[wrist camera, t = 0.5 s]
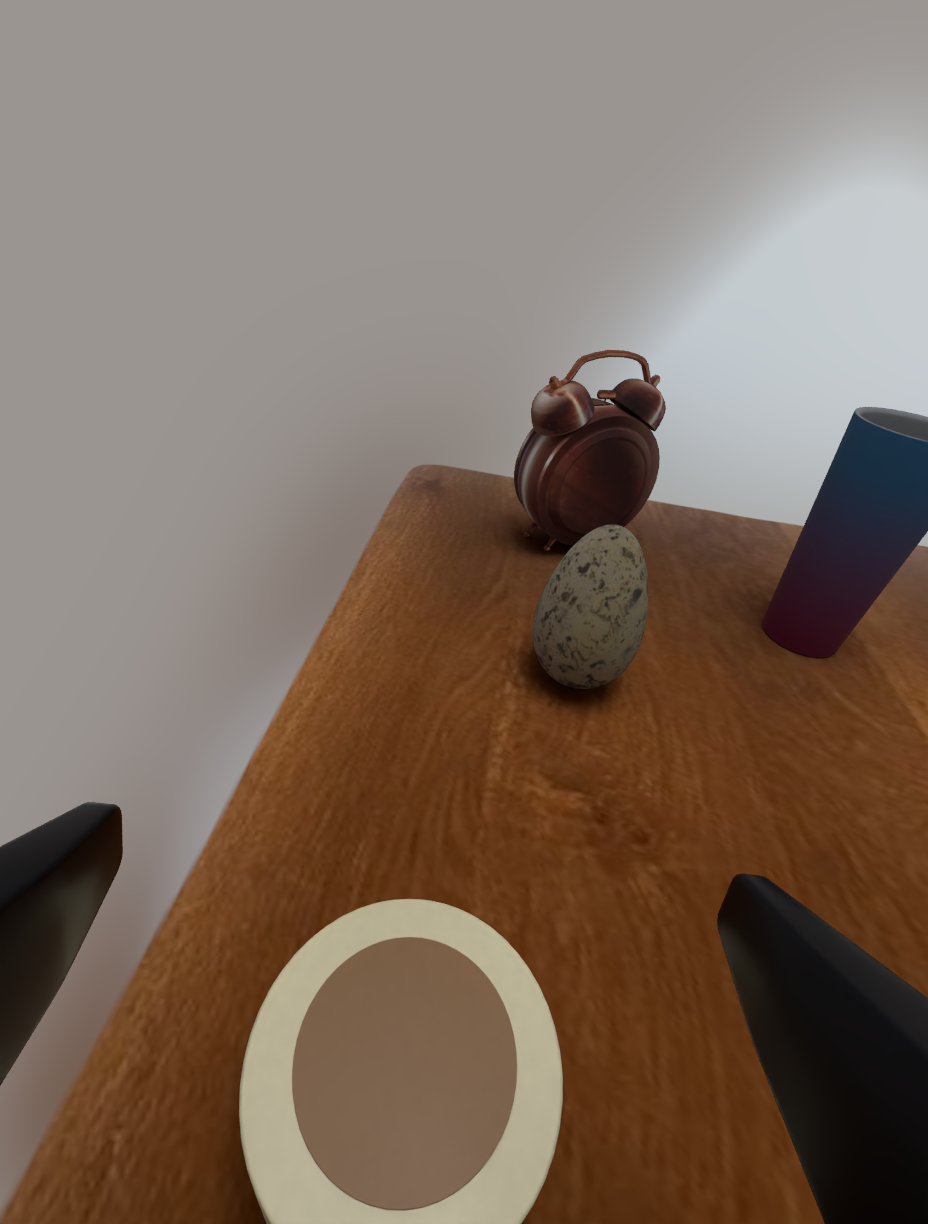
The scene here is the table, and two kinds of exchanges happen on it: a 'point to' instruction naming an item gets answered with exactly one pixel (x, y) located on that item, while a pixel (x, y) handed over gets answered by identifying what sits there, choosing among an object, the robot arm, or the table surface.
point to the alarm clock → (589, 453)
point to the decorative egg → (593, 610)
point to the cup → (854, 532)
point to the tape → (401, 1075)
